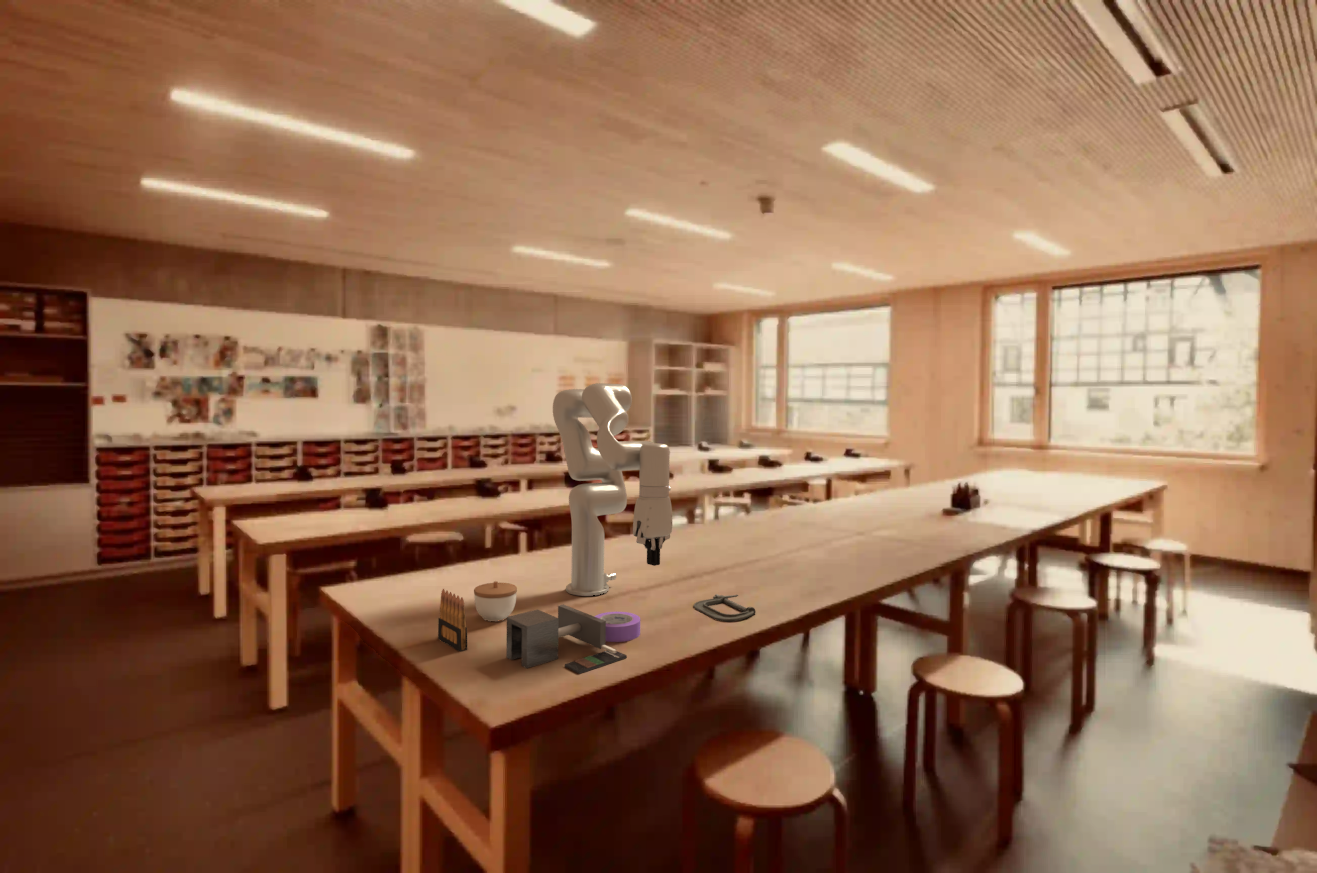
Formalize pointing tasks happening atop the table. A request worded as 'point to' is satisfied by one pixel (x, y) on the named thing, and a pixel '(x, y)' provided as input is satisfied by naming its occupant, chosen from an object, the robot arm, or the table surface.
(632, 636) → the masking tape
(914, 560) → the table surface
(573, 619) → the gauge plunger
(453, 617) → the ammunition clip
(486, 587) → the lidded jar
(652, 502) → the robot arm
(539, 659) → the grey slide fixture
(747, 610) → the c clamp
